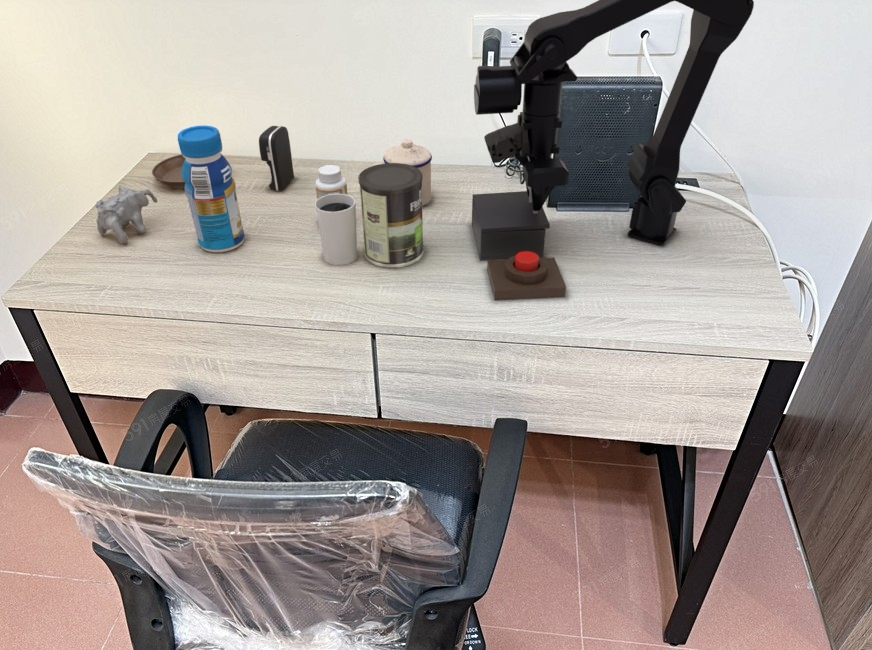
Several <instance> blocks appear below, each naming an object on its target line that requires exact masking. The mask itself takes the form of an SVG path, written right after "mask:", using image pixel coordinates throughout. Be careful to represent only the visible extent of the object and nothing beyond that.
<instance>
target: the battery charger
mask: <svg viewBox="0 0 872 650" xmlns="http://www.w3.org/2000/svg"><path fill="white" fill-rule="evenodd" d="M258 148H259V155H260V160H261V162H266V164H267V166H268V168H269V171H270V178H271V181H270V183H269V184H268V189H270V190H271V191H276V192H280V191H283V190H284V189H285V188H286V187H287V186H288V185H289V184H290V183H291V182H292V181H293V180H294V179H295V172H294V166H293V165H294V164H293V157H292V156H293V155H292V148H291V141H290V135H289V130H288V128H287V127H286V126H283V125H271V126H269V127H267V128H266V129H265V130H264V131H263V132H262V133H261V134H260V135H259V137H258Z"/></svg>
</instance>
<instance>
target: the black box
mask: <svg viewBox="0 0 872 650" xmlns="http://www.w3.org/2000/svg"><path fill="white" fill-rule="evenodd" d="M471 229H472V233H473V237H474V241H475V242H474V243H475V245H476V249H477V254H478V258H479V261H481V262H483V261H484V262H485V261H489V260H508V259H509V258H510V257H513V256H515V255H517V254H518V253H520V252H524V251H529V252H533V253H536V254H537V255H538V256H539V257H541V258H544V251H545V250H544V248H545V240H546V230H547V229H531V230H515V231H499V232H483V233H481V230H480V226H479V222H478V218H477V214H476V210H475V206H474V202H473V198H472V201H471Z"/></svg>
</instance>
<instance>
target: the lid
mask: <svg viewBox="0 0 872 650" xmlns="http://www.w3.org/2000/svg"><path fill="white" fill-rule="evenodd" d="M527 187H528V189H529V196H528V195H527V190H522V191H521V190H520V191H505V192H490V193H474V194H472V199H473V202H474V206H475V210H476V214H477V218H478V222H479V226H480V230H481V233H483V232H499V231H515V230H531V229H545V230H547V229H550V226H551V224H550V221H549V219H548V216H547V214H546V212H545V209H544V206H542V208H541V209H540V210H539V211H534V210H533V205H532V196H531V187H529V186H527Z"/></svg>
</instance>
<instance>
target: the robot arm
mask: <svg viewBox="0 0 872 650" xmlns="http://www.w3.org/2000/svg"><path fill="white" fill-rule="evenodd" d="M673 2H677V3H679V4H681V5H684V6H685V7H688V8H689V9H692V10H693V11H692V15H691V19H690V29H689V30H690V32H689V44H688V48H687V50H686V52H685V55H684V58H683V60H682V63H681V66H680V68H679V71H678V73H677V75H676V78H675V80H674V83H673V85H672V87H671V90H670V93H669V96H668V97H667V100H666V103H665V105H664V108H663V110H662V113H661V115H660V117H659V120H658V123H657V125H656V127H655V130H654V132H653V135H652V136H651V138H650V139H649V140H648V141H646V143H644V144H641V143H638V142H636V144H635V146H634V149H633V152H632V157H631V158H630V159H629V161H628V162H627V163H626V166H627V168H628V169H629V170H628V177H629V179H630V181H631V182H632V184H633V186H634V187H635V189H636V191H637V192H638V194H639V195H640V197H638V199H637V201H636V204H635V205H633V207H632V210H631V216H630V221H629V226H628V227H629V229H630V230H629V231H628V232H627V237H629V238H633V239H636V240H639V241H644V242H647V243H650V244H655V245H658V246H664V245H665V244H666V243H667V242H668V241H669V240H670V238H672V236H673V235H674V234H675V233H676V232H677V228H676V227H675V224H676V219H677V215H678V213H680V212H681V211H682V210H683V208H684V207H685V205H686V203H687V200H686V198H685V197H684V196H683V194H682V192H680V190H679V189H678V188H677V186H676V185H677V179H678V176H679V172H680V165H681V164H680V163H681V149H682V145H683V143H684V140H685V138H686V135H687V134H688V132H689V129H690V127H691V125H692V122H693V119H694V117H695V115H696V112H697V110H698V108H699V106H700V103H701V101H702V99H703V97H704V94H705V92H706V89H707V87H708V85H709V82H710V80H711V78H712V75H713V73H714V71H715V69H716V66H717V65H718V62H719V60H720V58H721V56H722V54H723V53H724V52H725V51H726V50H727V49H728V48H729V47H730V46H731V45H732V44H733V43H734V42H735V41H736V40H737V39H738V37H739V36H740V34H741V32H742V31H743V30H744V28H745V26H746V24H747V23H748V21H749V19H750V17H751V16H752V14H753V10H754V7H755V1H754V0H596V1H595V2H592V3H589V4H588V5H586V6H585V7H581V8H578V9H574V10H567V11H559V12H556V13H553V14H550V15H545V16H542V17H540V18H537V19H536V20H534V21H532V22H531V23H530V24H529V25H528V26H527V30H526V32H525V33H524V40H523V42H522V44H521V45H520V46H519V47H518V49H517V50H516V52H515V53H514V55H513V56H512V57H511V59H510V60H509V64H510V65H498V66H490V65H478V66H477V69H476V75H475V84H474V85H473V103H474V112H475V115H476V116H478V115H495V114H497V115H498V114H512V113H514V111H516V110H517V111H518V107H519V106H520V105H521V103H522V111H520V112H519V114H518V115H517V121H516V123H513V124H508V125H506V126H503V127H500V128H498V129H496V130H494V131H493V130H492V131H491V132H488V133H486V134H485V135H484V142H485V145H486V148H487V151H488V154H489V157H490V159H491V162H492V163H493V164H498V163H500V162H503V161H505V160H507V159H509V158H511V157H514V158H515V159H516V160H517V161H518V162H519V163H520V164H521V165H522V169H523V172H522V173H521V176H522V178H523V180H524V182H525V189H526V191H527V195H528V196H529V189H528V187H527V186H529V187H531V196H532V205H533V210H534V211H539V210H540V209H541V208H542V207H544V205H545V203H546V201H547V200H548V198H549V197H550V195H551V193H552V192H553V191H554V189H555V188H556V187H565V186H567V185H568V184H569V176H570V172H569V170H568V168H567V165H566V164H565V162H564V161H562V159H560V157H555V158H554V157H553V158H552V155H559V154H560V146H559V144H558V135H559V129H562V126H563V120H562V118H561V116H560V115H561V114H560V113H561V104H562V94H563V83H571V82H576V81H577V80H578V75H577V74H576V73H575V71H574V70H573V69H572V68H571V67H570V65H569V63H568V61H570V60H571V59H573V58H574V57H576V56H577V55H578V54H579V53H580V52H581V51H582V50H583V49H584V48H585V47H586V46H587V45H588V44H590V43H591V42H593V40H595V39H597V38H598V37H601V36H603V35H605V34H607V33H609V32H611V31H614V30H616V29H618V28H619V27H622V26H624V25H626V24H628V23H630V22H633V21H634V20H637V19H639V18H641V17H643V16H645V15H647V14H649V13H651V12H653V11H655V10H657V9H659V8H661V7H663V6H666V5H668V4H669V3H673ZM522 89H523V90H522ZM522 91H523V92H522ZM522 93H523V94H522ZM522 97H523V98H522Z"/></svg>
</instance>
